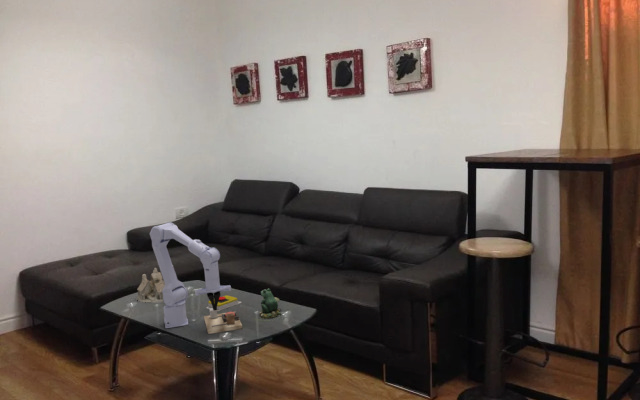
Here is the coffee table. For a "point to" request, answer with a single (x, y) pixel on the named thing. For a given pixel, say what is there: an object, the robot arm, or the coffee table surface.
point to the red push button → (229, 313)
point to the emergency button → (224, 302)
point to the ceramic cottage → (151, 288)
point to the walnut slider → (230, 318)
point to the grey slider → (213, 313)
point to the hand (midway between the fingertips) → (214, 309)
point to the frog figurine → (269, 305)
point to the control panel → (221, 323)
